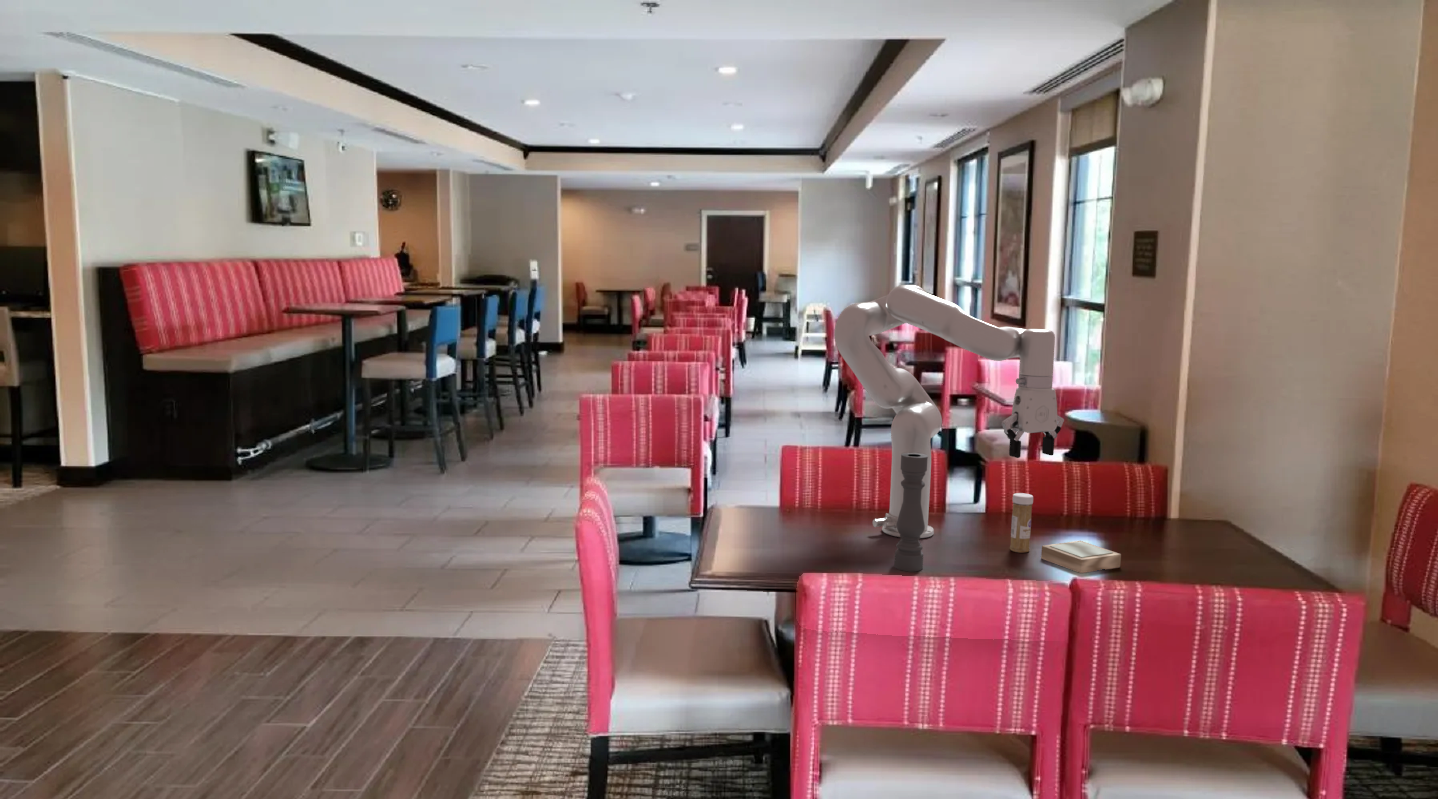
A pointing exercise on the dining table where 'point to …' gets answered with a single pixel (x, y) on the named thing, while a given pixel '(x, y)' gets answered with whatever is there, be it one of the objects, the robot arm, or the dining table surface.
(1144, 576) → the dining table surface
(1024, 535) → the sprinkles bottle
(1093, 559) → the tray
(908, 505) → the candle holder
